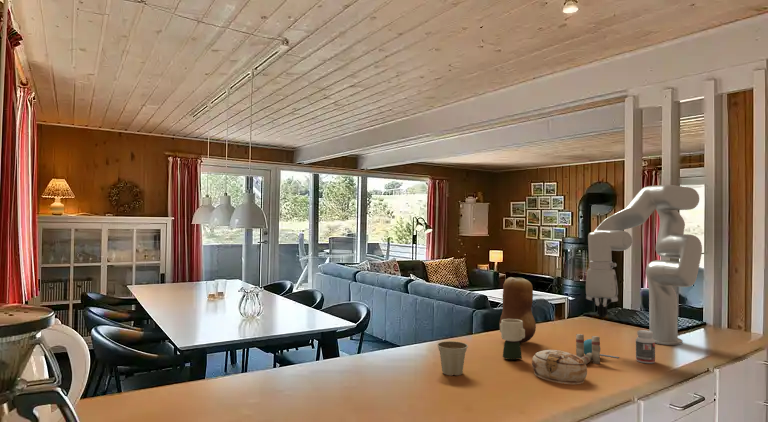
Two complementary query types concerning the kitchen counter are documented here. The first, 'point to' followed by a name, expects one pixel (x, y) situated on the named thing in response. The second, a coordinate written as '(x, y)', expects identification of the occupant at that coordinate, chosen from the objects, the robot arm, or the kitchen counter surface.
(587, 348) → the ball
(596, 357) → the pin
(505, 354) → the character mug
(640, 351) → the pill bottle
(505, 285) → the butternut squash
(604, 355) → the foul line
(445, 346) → the flower pot
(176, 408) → the kitchen counter surface
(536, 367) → the trinket box
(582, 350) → the pin
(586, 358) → the pin front
